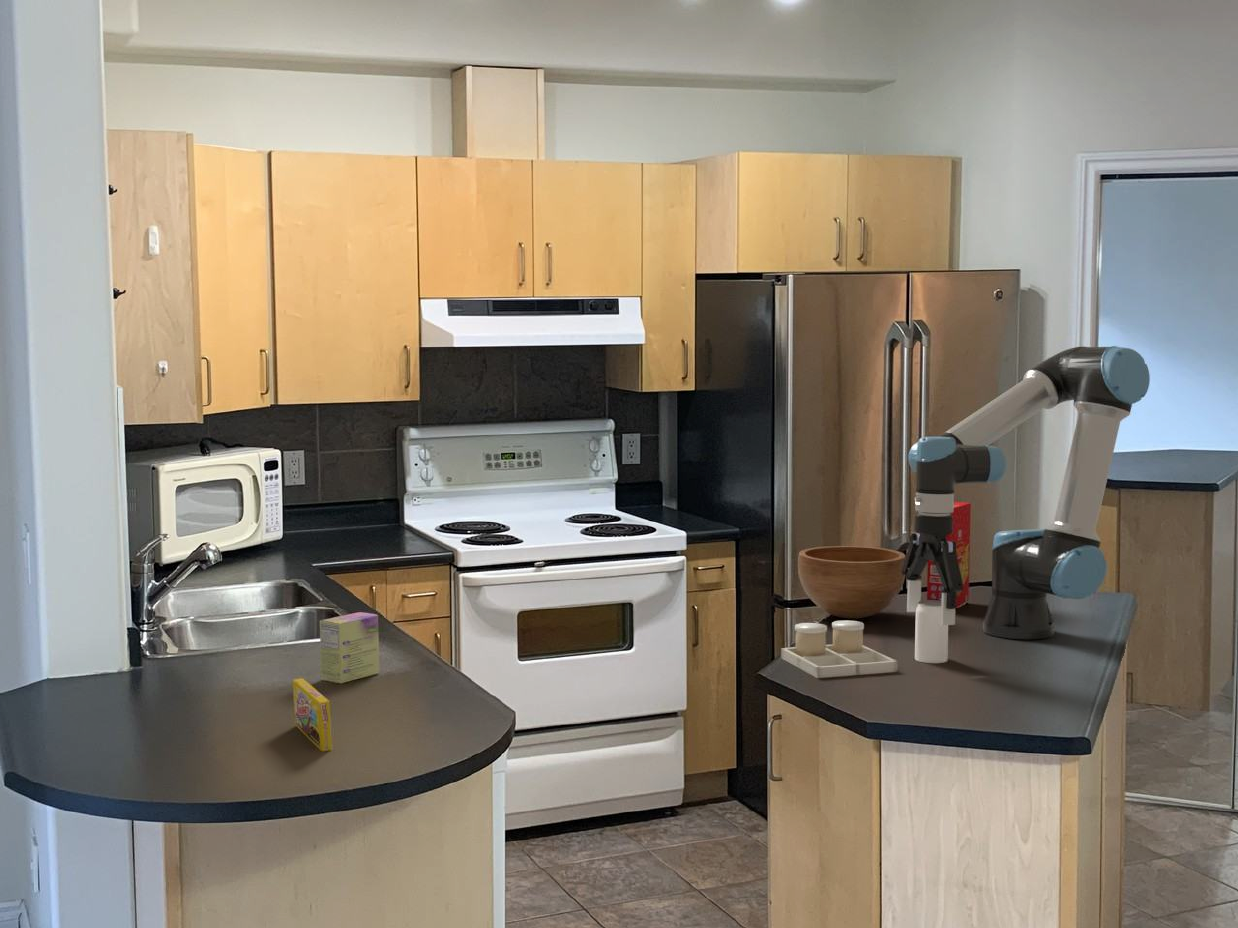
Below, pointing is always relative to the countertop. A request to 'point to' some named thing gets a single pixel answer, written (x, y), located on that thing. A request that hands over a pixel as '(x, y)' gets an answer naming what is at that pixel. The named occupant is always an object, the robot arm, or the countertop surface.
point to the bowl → (851, 578)
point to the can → (930, 633)
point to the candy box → (312, 714)
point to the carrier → (841, 662)
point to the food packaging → (962, 550)
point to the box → (349, 647)
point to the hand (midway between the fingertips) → (930, 618)
